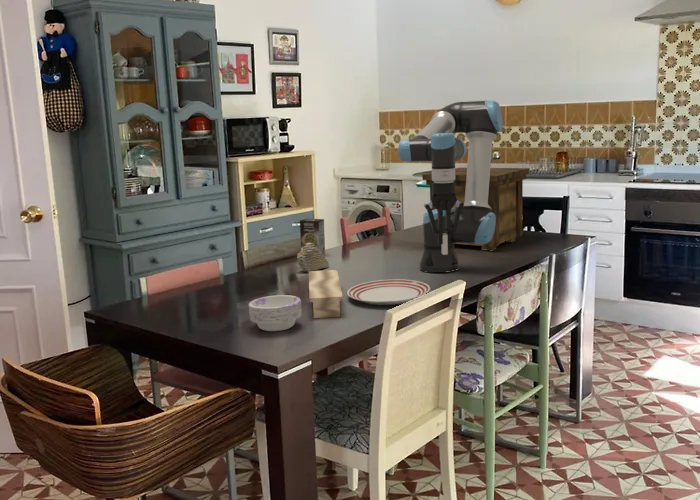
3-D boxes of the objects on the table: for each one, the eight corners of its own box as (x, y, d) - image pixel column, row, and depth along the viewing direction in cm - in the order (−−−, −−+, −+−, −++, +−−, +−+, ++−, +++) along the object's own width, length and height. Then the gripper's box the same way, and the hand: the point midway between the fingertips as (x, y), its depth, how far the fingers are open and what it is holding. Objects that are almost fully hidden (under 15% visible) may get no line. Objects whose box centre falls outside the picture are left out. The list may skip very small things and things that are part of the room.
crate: (497, 254, 289) (497, 175, 283) (424, 247, 309) (422, 174, 303) (529, 239, 317) (529, 168, 311) (460, 234, 337) (459, 167, 331)
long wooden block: (337, 286, 246) (337, 269, 245) (343, 316, 210) (342, 296, 209) (309, 288, 246) (308, 271, 245) (310, 318, 210) (309, 298, 208)
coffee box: (300, 257, 301) (298, 220, 298) (307, 254, 307) (305, 218, 304) (320, 257, 298) (318, 220, 295) (326, 254, 304) (324, 218, 300)
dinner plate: (368, 314, 212) (368, 304, 211) (334, 295, 236) (334, 285, 236) (446, 301, 222) (446, 291, 222) (405, 284, 247) (405, 275, 246)
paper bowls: (254, 320, 211) (253, 294, 209) (304, 318, 210) (303, 293, 208) (246, 336, 196) (243, 308, 194) (299, 334, 195) (298, 307, 194)
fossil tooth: (331, 270, 278) (302, 274, 267) (321, 268, 282) (292, 271, 272) (333, 242, 276) (304, 245, 266) (322, 240, 280) (293, 242, 270)
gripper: (425, 183, 219) (426, 257, 223) (466, 181, 220) (466, 254, 224) (421, 181, 226) (423, 252, 231) (461, 179, 227) (461, 250, 231)
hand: (444, 253), depth 227 cm, fingers closed
